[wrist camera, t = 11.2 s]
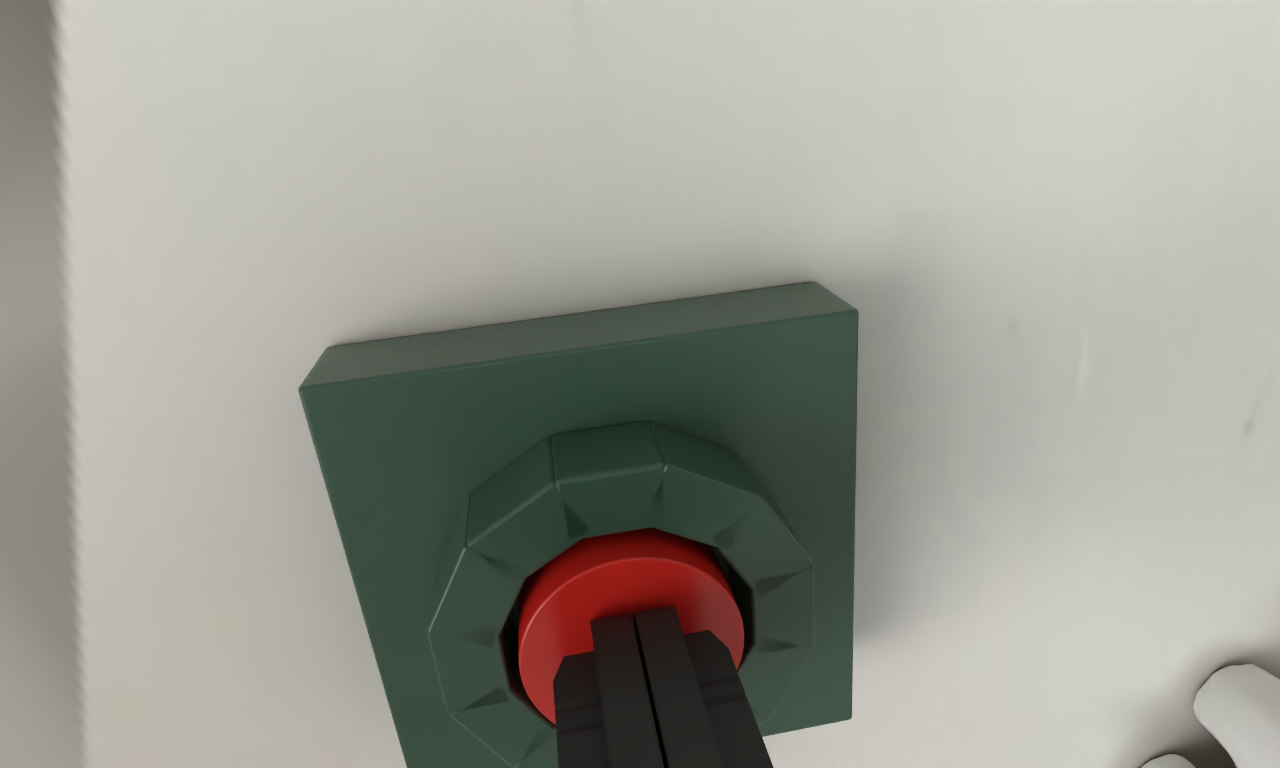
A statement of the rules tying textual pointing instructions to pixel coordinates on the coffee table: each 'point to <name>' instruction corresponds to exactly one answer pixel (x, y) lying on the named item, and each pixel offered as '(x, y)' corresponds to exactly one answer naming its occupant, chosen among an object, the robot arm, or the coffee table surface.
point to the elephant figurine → (1238, 717)
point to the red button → (618, 599)
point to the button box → (593, 494)
